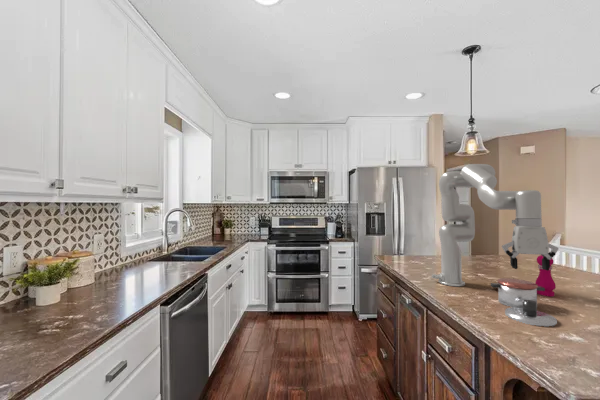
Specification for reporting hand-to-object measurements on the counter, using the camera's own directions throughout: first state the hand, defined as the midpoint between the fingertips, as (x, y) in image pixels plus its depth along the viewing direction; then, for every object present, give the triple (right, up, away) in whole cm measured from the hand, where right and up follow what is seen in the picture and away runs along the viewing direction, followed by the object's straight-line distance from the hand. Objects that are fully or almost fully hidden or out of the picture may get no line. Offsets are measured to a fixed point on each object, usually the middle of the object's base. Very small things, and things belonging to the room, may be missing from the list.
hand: (529, 268), depth 105 cm
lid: (0, -19, 0) cm, 19 cm away
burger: (+16, -19, +33) cm, 41 cm away
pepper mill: (+29, -19, +27) cm, 44 cm away
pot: (+7, -19, +15) cm, 25 cm away
